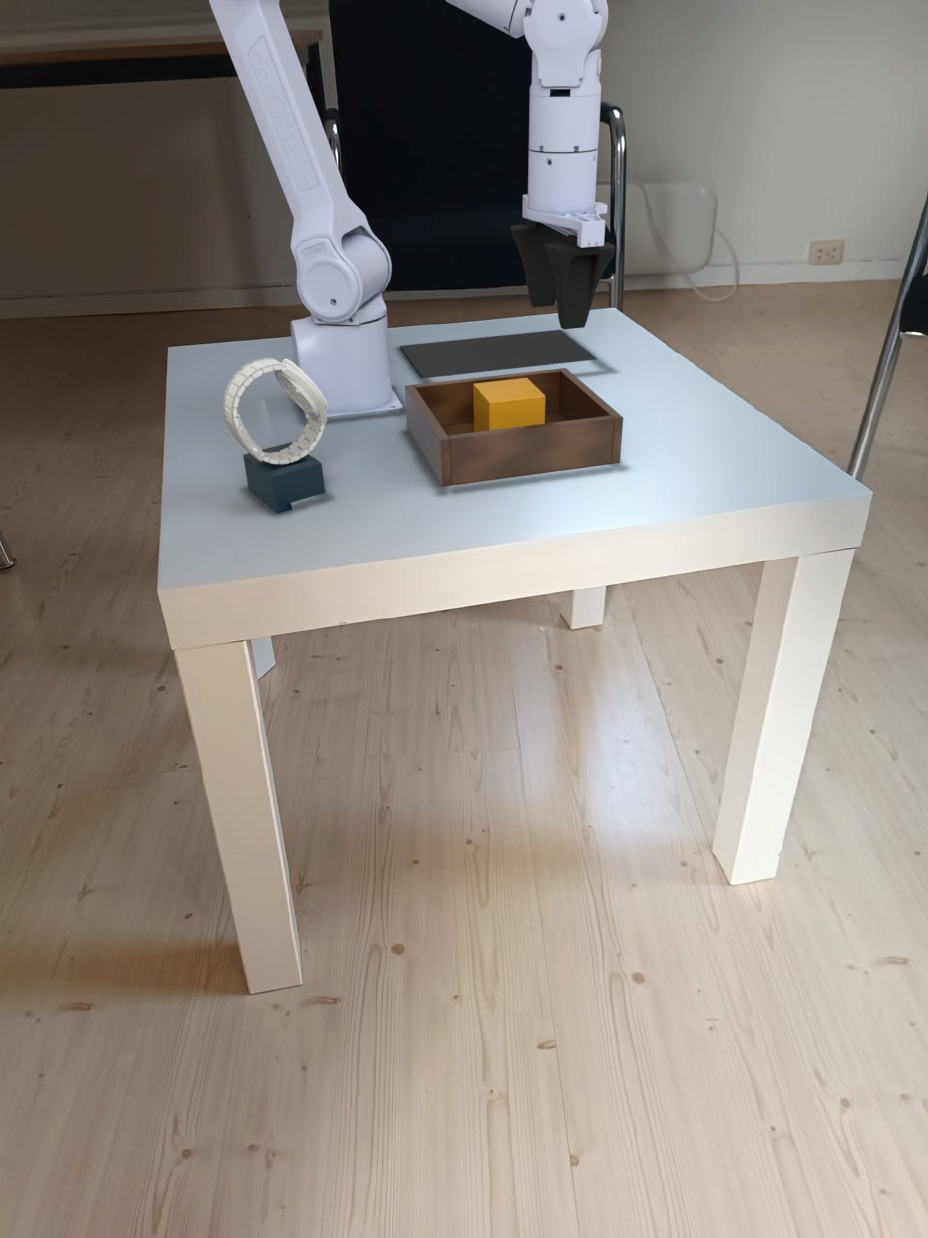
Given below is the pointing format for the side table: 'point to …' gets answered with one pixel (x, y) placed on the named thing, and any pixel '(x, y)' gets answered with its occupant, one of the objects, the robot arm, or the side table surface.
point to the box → (512, 430)
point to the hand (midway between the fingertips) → (557, 316)
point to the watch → (289, 465)
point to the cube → (507, 404)
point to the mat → (494, 353)
